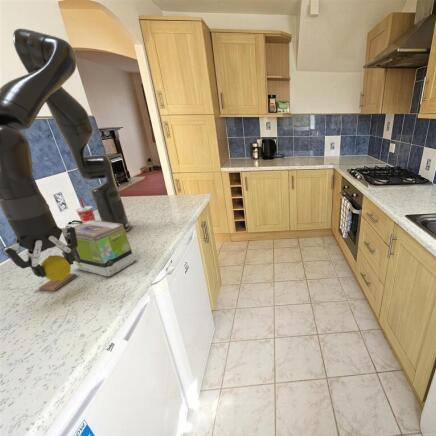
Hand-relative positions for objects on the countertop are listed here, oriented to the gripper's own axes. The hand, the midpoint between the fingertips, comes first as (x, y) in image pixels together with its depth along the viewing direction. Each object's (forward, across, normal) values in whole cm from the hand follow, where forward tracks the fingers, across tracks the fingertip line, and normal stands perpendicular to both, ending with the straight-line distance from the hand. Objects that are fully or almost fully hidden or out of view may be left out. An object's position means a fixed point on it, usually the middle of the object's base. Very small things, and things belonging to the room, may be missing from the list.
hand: (56, 269), depth 66 cm
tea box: (+10, -14, -7) cm, 18 cm away
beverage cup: (+10, -31, -50) cm, 59 cm away
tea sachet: (+9, -2, -10) cm, 14 cm away
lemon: (+4, 0, 0) cm, 4 cm away
